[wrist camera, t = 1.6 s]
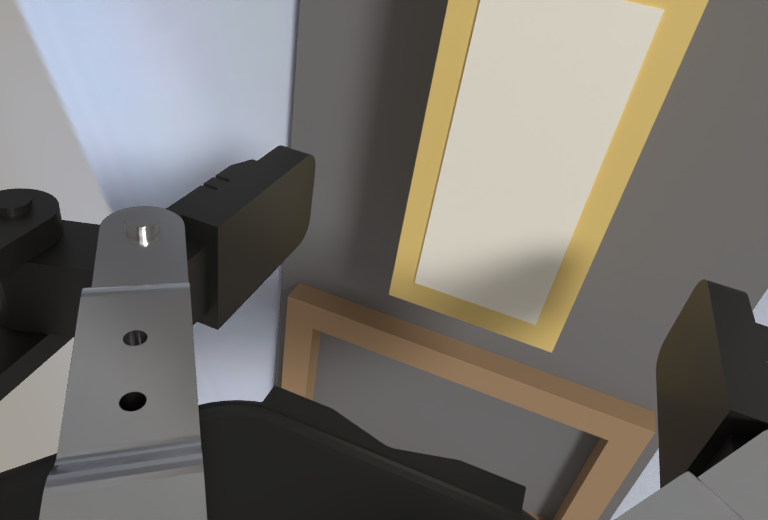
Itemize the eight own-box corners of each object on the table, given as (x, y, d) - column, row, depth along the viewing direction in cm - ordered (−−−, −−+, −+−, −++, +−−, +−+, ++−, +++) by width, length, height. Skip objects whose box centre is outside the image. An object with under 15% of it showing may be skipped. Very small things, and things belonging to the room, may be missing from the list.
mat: (322, -223, 16) (296, -230, 14) (1019, -100, 12) (1059, -97, 11) (275, 442, 32) (261, 463, 31) (570, 568, 29) (567, 598, 28)
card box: (501, -91, 15) (464, -81, 12) (704, -49, 14) (721, -27, 11) (426, 231, 21) (387, 295, 18) (566, 277, 20) (551, 354, 17)
